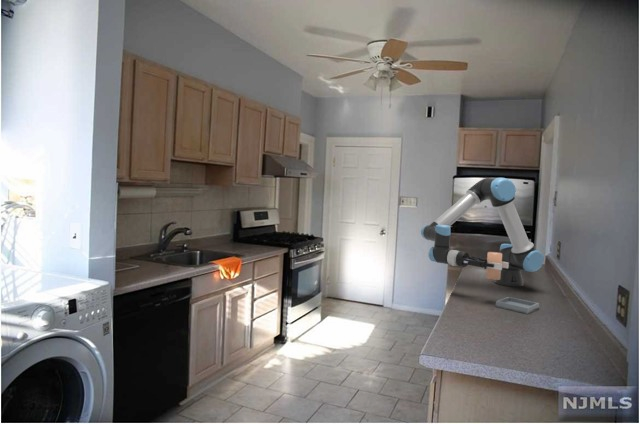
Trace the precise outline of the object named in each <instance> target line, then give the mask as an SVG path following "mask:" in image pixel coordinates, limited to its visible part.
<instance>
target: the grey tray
mask: <svg viewBox="0 0 640 424" xmlns="http://www.w3.org/2000/svg"><path fill="white" fill-rule="evenodd" d="M495 307H496V308H499V309H504V310H508V311H512V312H516V313H521V314H525V315H528V314H531V313H532V312H535V311H536V310H538V309H539V308H540V303H539V302H534V301H530V300H527V299H520V298H516V297H511V296H507V297H504V298H500V299H498V300H496V301H495Z"/></svg>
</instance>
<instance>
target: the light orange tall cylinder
mask: <svg viewBox="0 0 640 424" xmlns="http://www.w3.org/2000/svg"><path fill="white" fill-rule="evenodd" d="M486 256H487V257H486V259H487V263H488V262H493V263H499V264H502V253H500V252H496V251H488V252H487V255H486ZM485 270H486V271H485V279H487V280H493V281H494V280H500V278H501V270H498V269H492V268H487V269H485Z"/></svg>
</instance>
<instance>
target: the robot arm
mask: <svg viewBox="0 0 640 424" xmlns="http://www.w3.org/2000/svg"><path fill="white" fill-rule="evenodd" d="M516 192H517V189H516V185H515V183H514V182H513V180H511V179H509V178H505V177H486V178H483V179H481V180H479V181H477V182H476V183H475V184H473V185H472V186H471V187H470V188H469V189H467V190H466V193H465V194H464V195H463V196H462V197H461V198H459V199H458V201H456V202H455V203H453V205H452V206H450V207H449V208H447V210H445V212H443V213H442V214H440V216H438V217H437V218H436V219H435V220H434V221H432V222H431V223H430V224H428V225H424V226H422V227H421V229H420V235H421V237H422V238H424V239H425V240H427V241H432V242H434V245H433V246H432V247H431V248H429V252H428V258H429V260H430V262H435V263H437V264H444V265H451V266H452V267H454V266H455V267H457V266H458V267H461V268H466V267H467V266H471V267H477V268H482V269H483V268H484V270H486V269H487V268H492V269H498V270H501V278H500V280H493V281H494V283H495V284H496V285H500V286H506V287H512V288H513V287H523V286H524V278H523V276H522V272H521V271H522V270H523V271H526V272H530V273H533V272H537V271H539V270H540V269H541V267H542V266H543V263H544V255H543V253H542V252H541V251H539V250H537V249H536V246H535V243H533V242H532V241H530V240H529V238H528V236H527V232H526V231H525V228H524V225H523V223H522V221H521V218H520V216H519V213H518V211H517V208H516V205H515V204H514V202H515V199H516V198H515V196H516ZM486 200H489V201H490V203H491V205H492V207H493V208H495V209H497V212H498V214H499V215H498V216H499V217H500V219H501V221H502V223H503V226H504V229H505V231H506V234H507V236H508V238H509V241H510V243H501V245H500V247H499V253H502V264H499V263H493V262H488V263H487V257H478V256H474V255H471V256H470V254H469V253H468V251H462V250H456V249H455V250H454V249H450V244H451V233H452V232H451V226H452V225H453V224H454V223H456V221H458V220H459V219H460V218H461V217H462V216H464V215H465V214H466V213H467V212H468V211H470V210H471V209H472V208H473V207H474V206H476V205H480V204H481V203H482V202H484V201H486Z"/></svg>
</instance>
